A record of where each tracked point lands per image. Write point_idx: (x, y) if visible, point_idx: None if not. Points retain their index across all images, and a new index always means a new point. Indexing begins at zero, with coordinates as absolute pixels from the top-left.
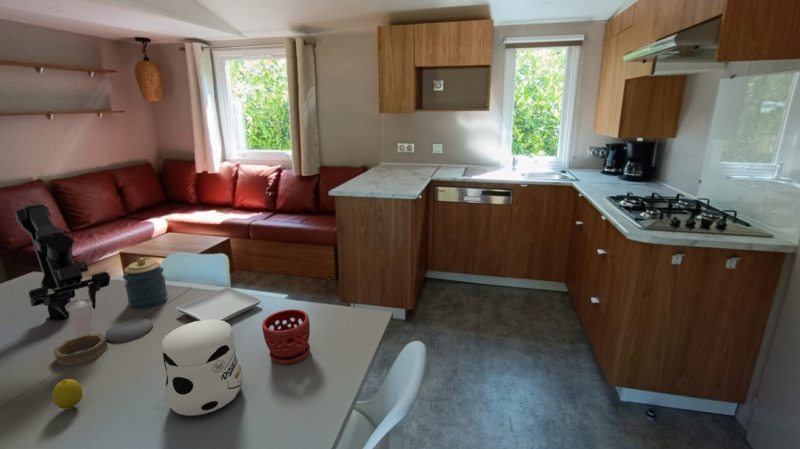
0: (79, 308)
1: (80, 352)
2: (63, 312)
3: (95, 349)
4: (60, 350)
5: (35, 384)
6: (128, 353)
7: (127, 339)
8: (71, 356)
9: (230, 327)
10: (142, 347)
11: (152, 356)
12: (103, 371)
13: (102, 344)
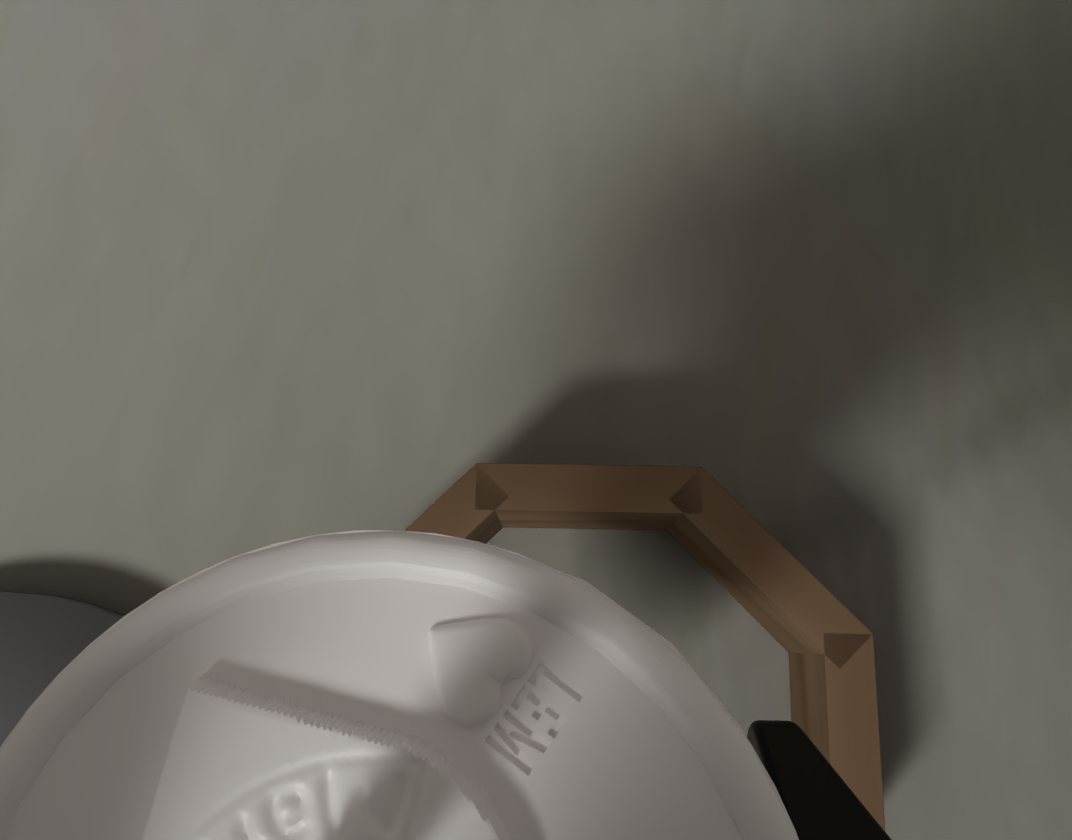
0: (449, 551)
1: (637, 499)
2: (879, 834)
3: (482, 467)
4: None
5: (1066, 417)
6: (243, 304)
7: (113, 612)
8: (736, 501)
9: None
10: (95, 314)
11: (122, 60)
12: (531, 148)
13: None
